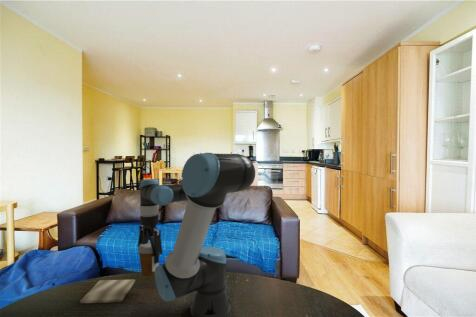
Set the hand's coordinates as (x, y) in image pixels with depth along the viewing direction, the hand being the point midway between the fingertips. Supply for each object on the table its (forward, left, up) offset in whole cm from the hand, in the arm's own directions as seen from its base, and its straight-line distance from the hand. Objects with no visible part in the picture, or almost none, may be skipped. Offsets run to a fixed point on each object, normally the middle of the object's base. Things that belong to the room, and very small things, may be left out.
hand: (149, 267), depth 105 cm
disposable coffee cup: (0, 0, -3) cm, 3 cm away
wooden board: (+13, +11, -11) cm, 20 cm away
